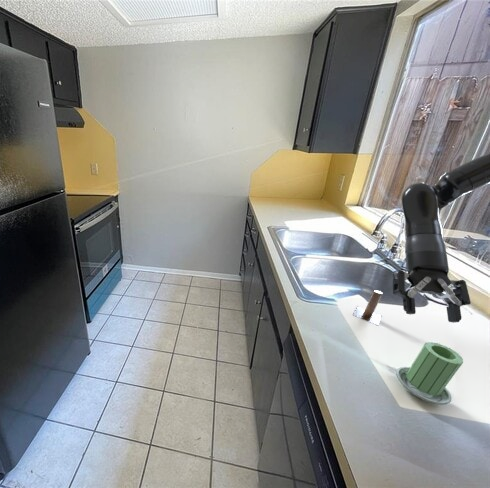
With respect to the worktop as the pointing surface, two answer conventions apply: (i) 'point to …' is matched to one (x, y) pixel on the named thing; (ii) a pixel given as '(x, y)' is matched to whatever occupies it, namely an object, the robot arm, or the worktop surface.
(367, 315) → the stand
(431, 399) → the saucer
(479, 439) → the worktop surface
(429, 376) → the hollow cylinder
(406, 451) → the worktop surface
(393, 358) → the worktop surface
